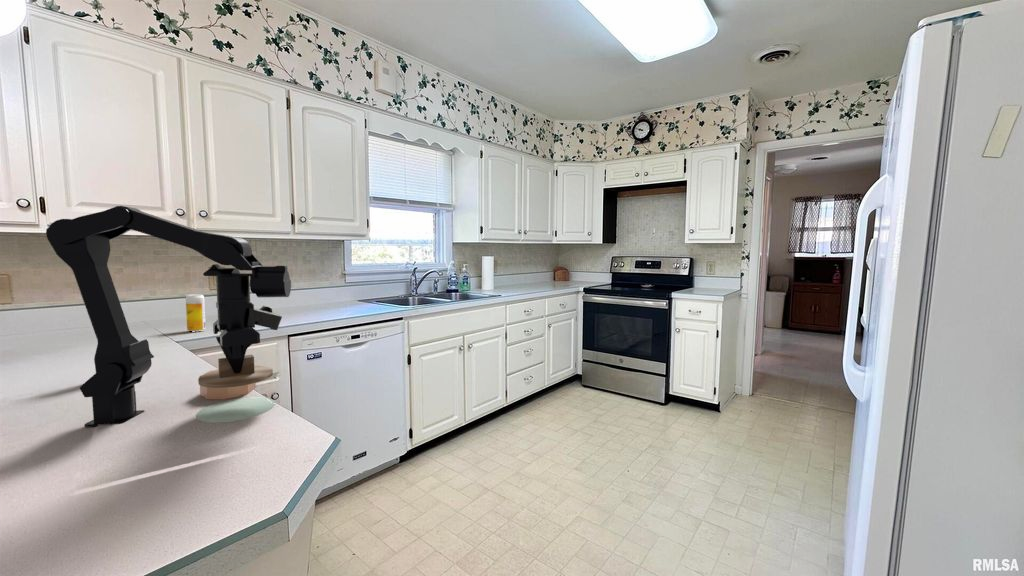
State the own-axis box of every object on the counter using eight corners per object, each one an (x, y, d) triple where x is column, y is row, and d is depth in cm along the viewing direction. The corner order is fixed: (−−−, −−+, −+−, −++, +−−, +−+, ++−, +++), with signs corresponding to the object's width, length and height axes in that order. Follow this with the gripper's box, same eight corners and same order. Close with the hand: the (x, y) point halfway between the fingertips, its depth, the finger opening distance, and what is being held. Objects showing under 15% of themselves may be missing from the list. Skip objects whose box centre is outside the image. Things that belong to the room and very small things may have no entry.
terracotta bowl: (242, 399, 94) (241, 378, 94) (192, 401, 93) (191, 380, 92) (260, 385, 104) (260, 366, 104) (216, 387, 102) (215, 367, 102)
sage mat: (259, 422, 82) (259, 420, 82) (180, 426, 80) (180, 424, 80) (285, 398, 96) (285, 396, 96) (217, 400, 93) (217, 398, 93)
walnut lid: (278, 379, 87) (277, 359, 86) (200, 392, 78) (199, 370, 78) (266, 366, 96) (265, 347, 96) (196, 376, 88) (195, 356, 88)
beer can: (189, 330, 172) (187, 294, 171) (207, 329, 175) (205, 294, 174) (185, 332, 167) (183, 295, 166) (203, 331, 170) (202, 295, 168)
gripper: (287, 299, 84) (289, 375, 85) (269, 292, 98) (271, 357, 99) (220, 303, 77) (224, 385, 78) (211, 294, 91) (214, 364, 92)
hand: (236, 371), depth 87 cm, fingers closed on walnut lid, 2 cm apart
